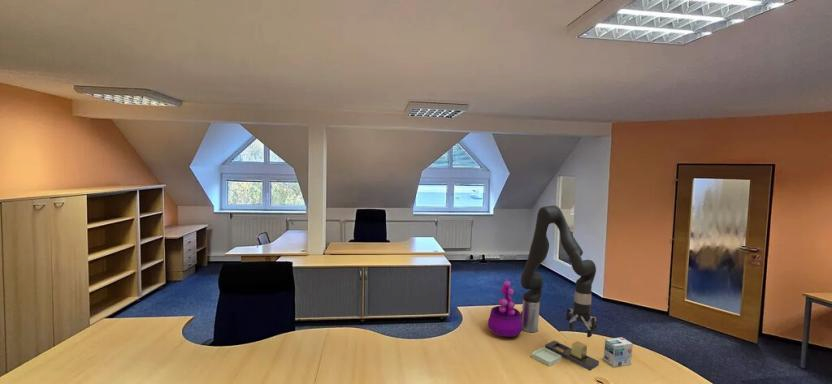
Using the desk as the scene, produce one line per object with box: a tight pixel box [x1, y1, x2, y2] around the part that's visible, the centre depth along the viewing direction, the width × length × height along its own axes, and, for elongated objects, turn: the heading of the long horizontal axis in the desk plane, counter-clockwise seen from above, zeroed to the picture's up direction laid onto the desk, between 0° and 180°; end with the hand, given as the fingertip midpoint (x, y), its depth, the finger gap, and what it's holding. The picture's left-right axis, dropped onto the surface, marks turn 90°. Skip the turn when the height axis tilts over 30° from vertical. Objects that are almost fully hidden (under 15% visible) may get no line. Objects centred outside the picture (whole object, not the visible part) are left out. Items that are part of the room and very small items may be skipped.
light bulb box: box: [603, 336, 634, 368], centre depth 179 cm, size 11×7×11 cm, turn 105°
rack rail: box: [544, 340, 600, 371], centre depth 184 cm, size 24×8×2 cm, turn 37°
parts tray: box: [530, 346, 562, 367], centre depth 181 cm, size 10×10×2 cm
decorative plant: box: [487, 280, 523, 338], centre depth 205 cm, size 19×18×30 cm
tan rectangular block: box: [571, 340, 588, 361], centre depth 180 cm, size 5×5×8 cm
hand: (580, 333), depth 179 cm, fingers open, 8 cm apart
